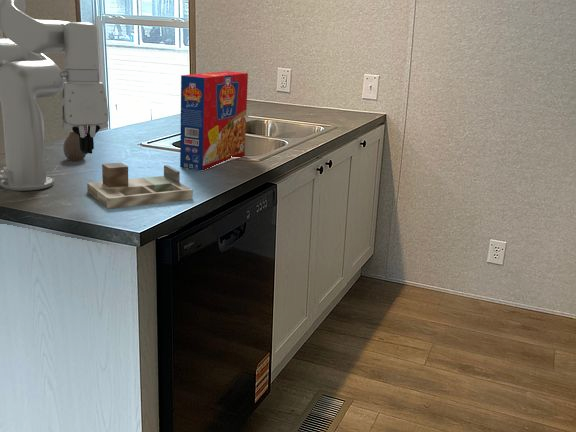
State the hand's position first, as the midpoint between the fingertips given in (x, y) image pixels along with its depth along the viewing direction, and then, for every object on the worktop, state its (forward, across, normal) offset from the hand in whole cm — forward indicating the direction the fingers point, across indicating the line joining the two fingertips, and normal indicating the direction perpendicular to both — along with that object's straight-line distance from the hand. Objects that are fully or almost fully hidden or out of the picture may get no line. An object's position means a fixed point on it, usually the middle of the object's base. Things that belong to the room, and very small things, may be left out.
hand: (87, 152), depth 156 cm
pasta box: (+12, +49, +27) cm, 57 cm away
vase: (+11, +9, +43) cm, 45 cm away
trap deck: (+12, +12, -3) cm, 17 cm away
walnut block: (+9, +7, +1) cm, 11 cm away
